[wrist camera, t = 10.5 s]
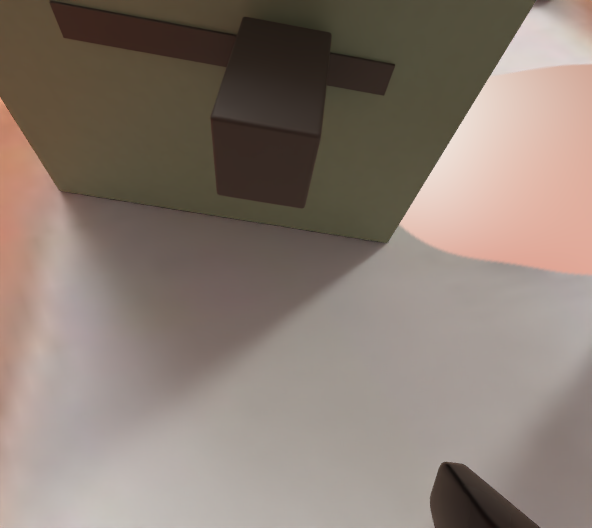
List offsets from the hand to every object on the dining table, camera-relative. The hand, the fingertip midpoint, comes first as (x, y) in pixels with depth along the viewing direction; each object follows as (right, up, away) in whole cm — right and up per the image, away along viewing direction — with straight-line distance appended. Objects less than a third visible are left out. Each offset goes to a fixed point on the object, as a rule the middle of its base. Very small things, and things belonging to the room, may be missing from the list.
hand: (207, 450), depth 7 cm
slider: (+1, +7, +4) cm, 8 cm away
